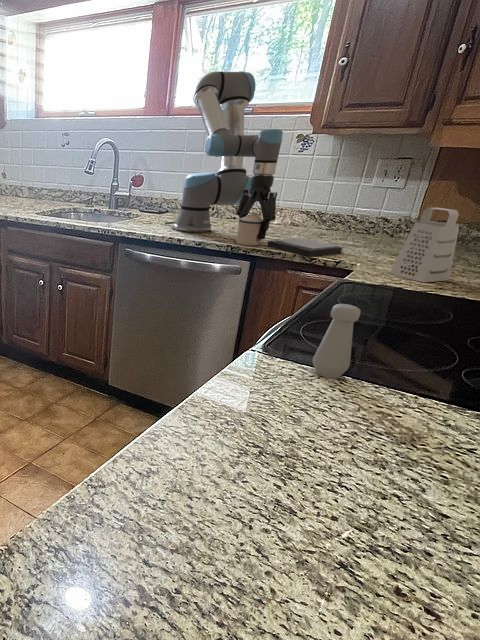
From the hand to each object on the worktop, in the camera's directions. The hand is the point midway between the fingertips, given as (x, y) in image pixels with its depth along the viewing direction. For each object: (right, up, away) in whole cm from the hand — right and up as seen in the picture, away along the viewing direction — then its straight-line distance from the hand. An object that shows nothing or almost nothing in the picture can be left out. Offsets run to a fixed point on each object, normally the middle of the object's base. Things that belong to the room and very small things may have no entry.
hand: (251, 236), depth 201 cm
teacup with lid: (0, -2, +2) cm, 3 cm away
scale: (+15, -7, -8) cm, 19 cm away
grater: (+31, -22, -42) cm, 56 cm away
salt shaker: (-37, -50, -105) cm, 122 cm away
